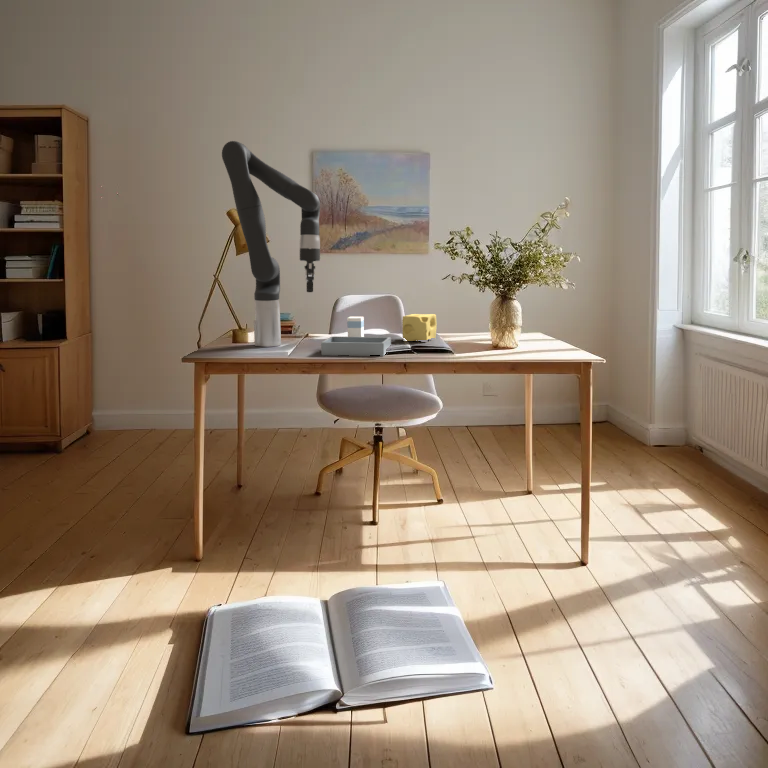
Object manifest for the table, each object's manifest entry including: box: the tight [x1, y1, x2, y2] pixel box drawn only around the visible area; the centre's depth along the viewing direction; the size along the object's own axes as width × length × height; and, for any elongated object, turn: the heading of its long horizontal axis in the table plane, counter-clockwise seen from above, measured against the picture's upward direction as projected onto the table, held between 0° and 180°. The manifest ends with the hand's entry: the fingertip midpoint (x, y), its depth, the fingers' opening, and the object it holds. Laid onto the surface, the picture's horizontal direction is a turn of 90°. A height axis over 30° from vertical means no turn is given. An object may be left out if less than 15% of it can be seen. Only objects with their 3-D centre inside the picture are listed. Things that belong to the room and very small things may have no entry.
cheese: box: [401, 313, 438, 342], centre depth 317 cm, size 10×11×10 cm
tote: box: [320, 336, 392, 357], centre depth 290 cm, size 22×15×4 cm
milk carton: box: [346, 316, 365, 337], centre depth 303 cm, size 5×5×11 cm
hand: (309, 292), depth 303 cm, fingers open, 8 cm apart
